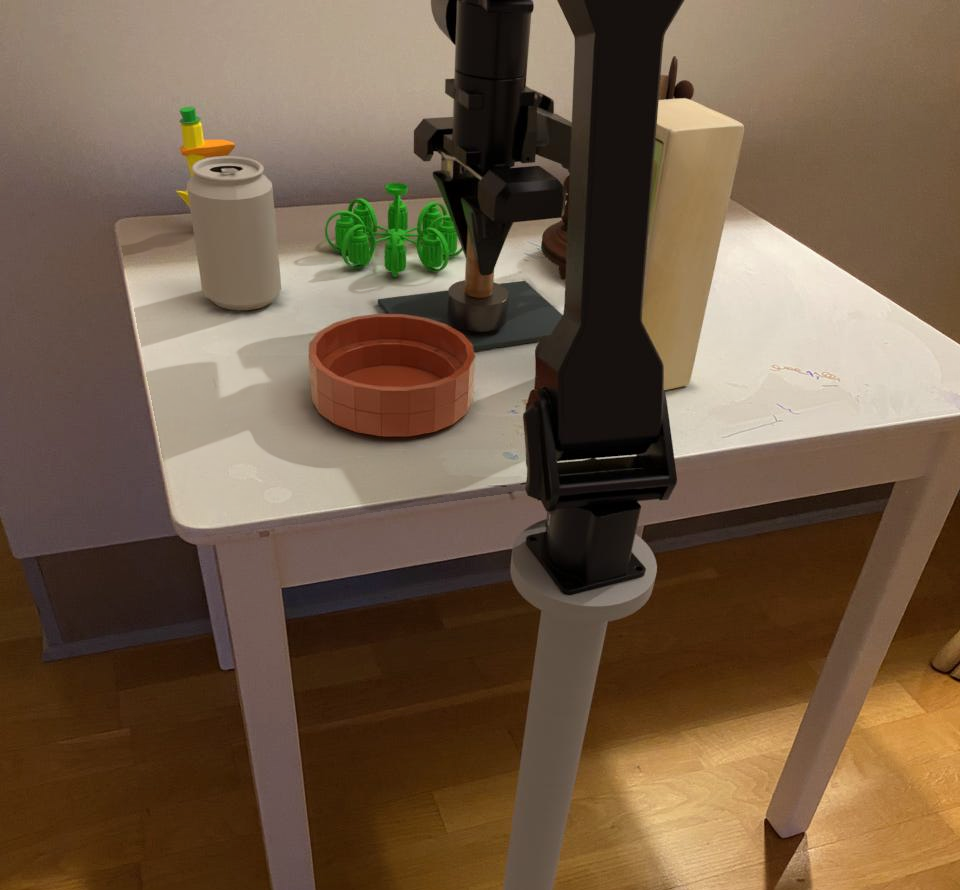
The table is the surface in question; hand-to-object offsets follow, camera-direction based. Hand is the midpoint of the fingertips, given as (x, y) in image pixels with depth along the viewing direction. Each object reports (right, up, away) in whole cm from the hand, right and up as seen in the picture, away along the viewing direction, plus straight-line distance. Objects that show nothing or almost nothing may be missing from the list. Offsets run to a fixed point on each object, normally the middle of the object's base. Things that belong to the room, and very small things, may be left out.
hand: (479, 268), depth 84 cm
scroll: (+14, +7, +17) cm, 23 cm away
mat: (0, -3, +6) cm, 6 cm away
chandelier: (-9, +8, +16) cm, 20 cm away
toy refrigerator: (+14, -10, 0) cm, 17 cm away
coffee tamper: (0, -3, +3) cm, 5 cm away
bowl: (-7, -14, -6) cm, 17 cm away
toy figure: (-29, +11, +18) cm, 36 cm away
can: (-23, -1, +6) cm, 24 cm away
